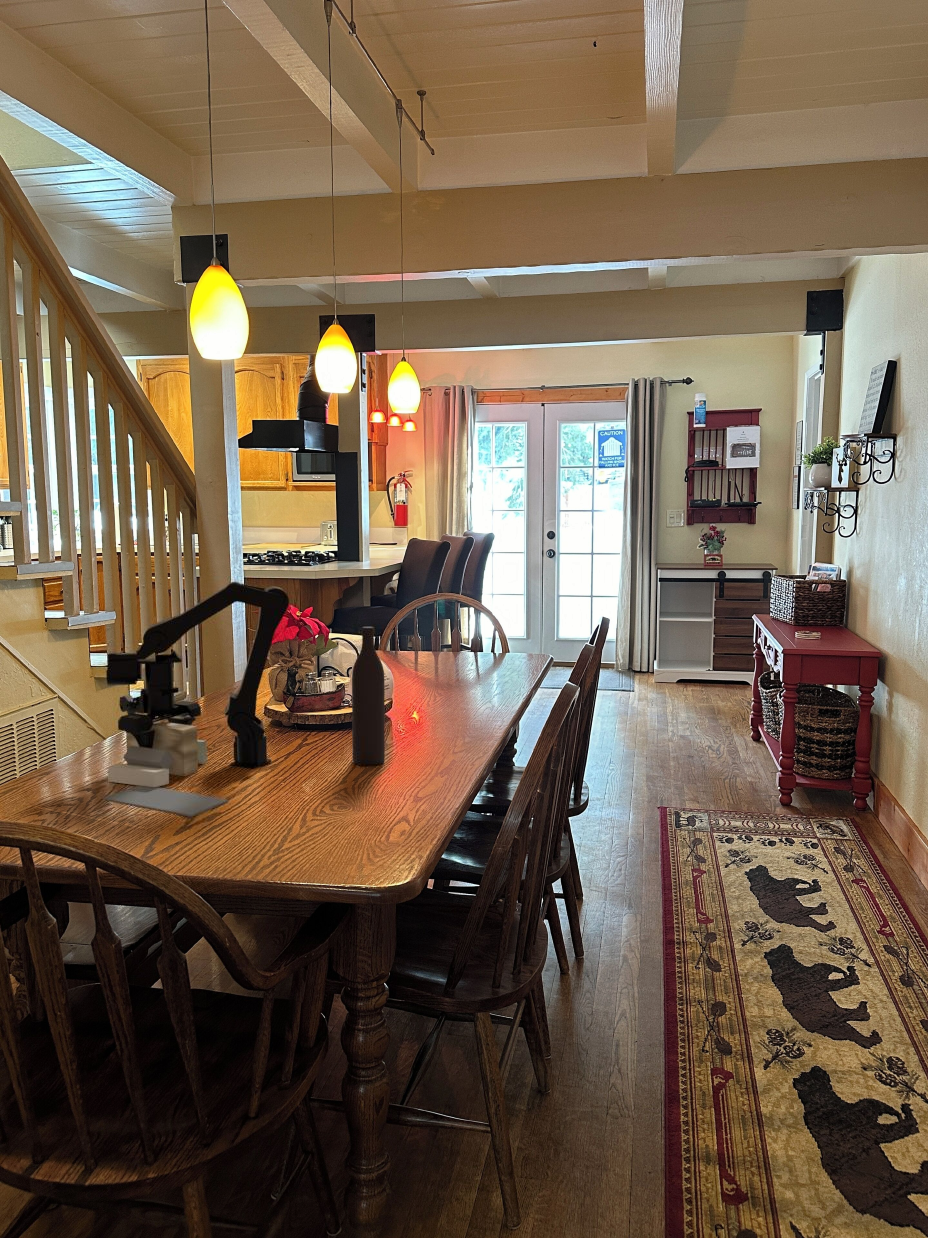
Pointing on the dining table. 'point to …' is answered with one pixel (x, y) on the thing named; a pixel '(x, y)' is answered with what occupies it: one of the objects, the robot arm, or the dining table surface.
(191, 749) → the beige brown block
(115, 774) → the offcut lower
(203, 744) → the panel
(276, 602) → the robot arm
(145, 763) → the offcut upper
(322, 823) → the dining table surface
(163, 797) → the mat
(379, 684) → the wine bottle
